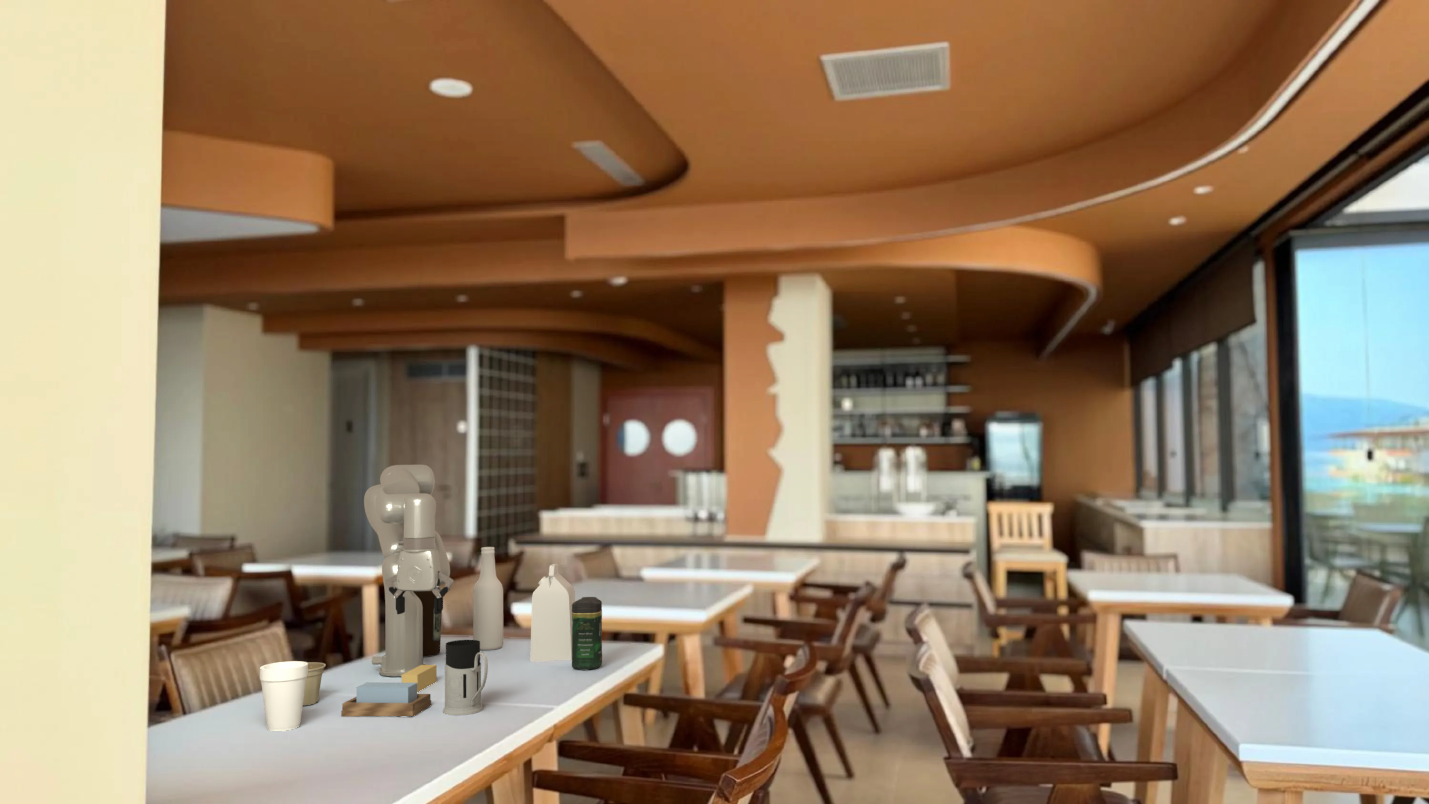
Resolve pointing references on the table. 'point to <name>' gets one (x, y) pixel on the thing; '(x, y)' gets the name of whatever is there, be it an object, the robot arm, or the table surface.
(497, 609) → the alcohol
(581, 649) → the coffee jar
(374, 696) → the pale grey-blue block
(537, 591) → the milk
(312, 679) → the flower pot
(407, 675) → the mustard wooden brick
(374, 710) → the cradle
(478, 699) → the glass holder
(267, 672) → the foam cup
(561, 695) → the table surface
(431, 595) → the olive oil
